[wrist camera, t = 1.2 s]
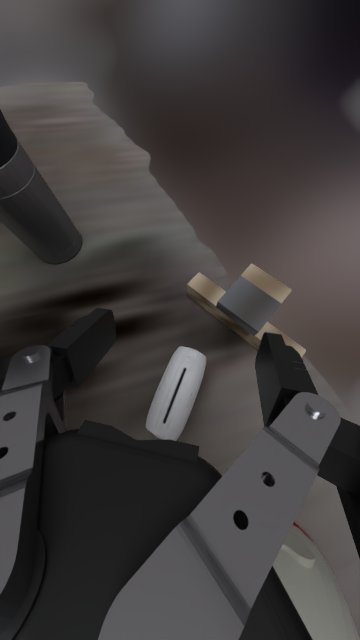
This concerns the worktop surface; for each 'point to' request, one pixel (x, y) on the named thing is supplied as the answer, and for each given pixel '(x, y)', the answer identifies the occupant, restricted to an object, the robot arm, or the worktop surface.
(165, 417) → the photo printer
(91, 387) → the worktop surface
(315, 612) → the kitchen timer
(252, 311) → the retention stand
